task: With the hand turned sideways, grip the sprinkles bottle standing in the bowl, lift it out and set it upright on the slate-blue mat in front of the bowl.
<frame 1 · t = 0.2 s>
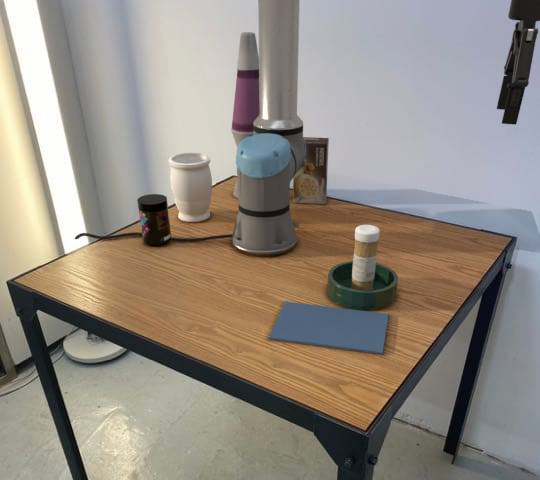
hand: (505, 116, 118), 28 cm above the table, tool pointing down, fingers open, 13 cm apart
coffee box: (309, 200, 158), on the table
mat: (330, 327, 104), on the table
jar: (194, 217, 148), on the table
supplement container: (157, 242, 135), on the table
bowl: (361, 293, 114), on the table
lamp: (251, 194, 162), on the table
sprinkles bottle: (361, 292, 114), resting on bowl
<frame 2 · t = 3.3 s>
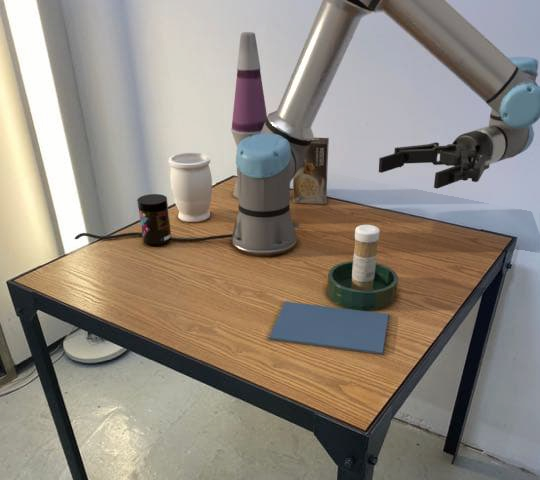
hand: (406, 172, 106), 22 cm above the table, tool horizontal, fingers open, 13 cm apart
nothing on the table moved.
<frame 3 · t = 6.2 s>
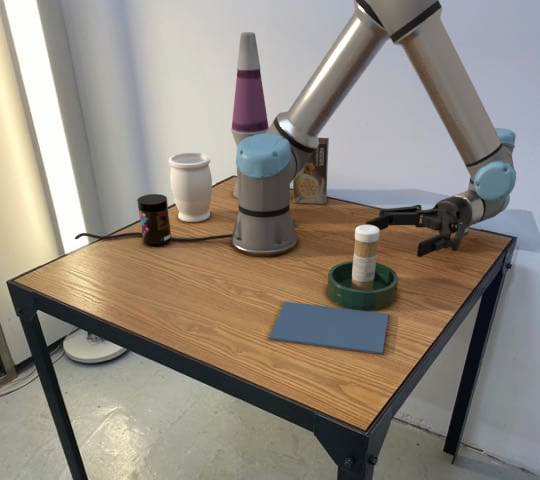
hand: (391, 239, 112), 10 cm above the table, tool horizontal, fingers open, 13 cm apart
nothing on the table moved.
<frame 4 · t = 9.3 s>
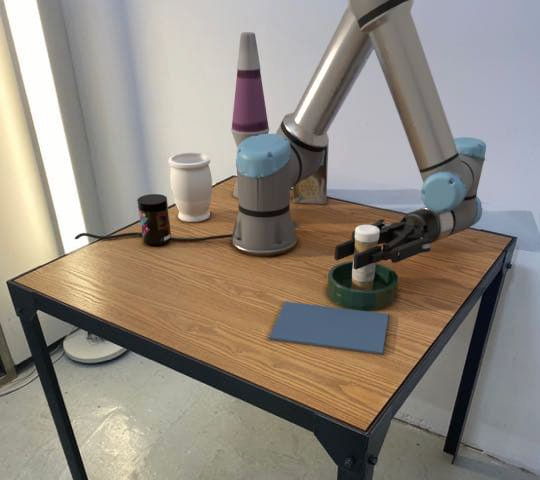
hand: (345, 257, 106), 10 cm above the table, tool horizontal, fingers closed on sprinkles bottle, 4 cm apart
sprinkles bottle: (361, 292, 114), resting on bowl, touching gripper
everything else where it was.
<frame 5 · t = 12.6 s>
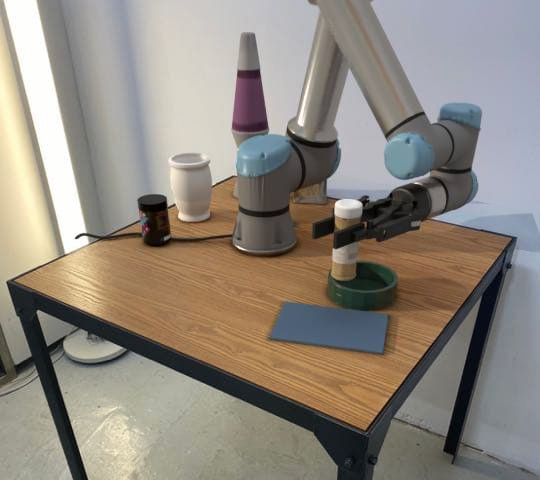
hand: (324, 236, 93), 18 cm above the table, tool horizontal, fingers closed on sprinkles bottle, 4 cm apart
sprinkles bottle: (343, 277, 101), point 9 cm above the table, touching gripper
everything else where it was.
when the fingers open (9 cm above the table, at t = 15.8 s): sprinkles bottle stays where it is, resting on mat.
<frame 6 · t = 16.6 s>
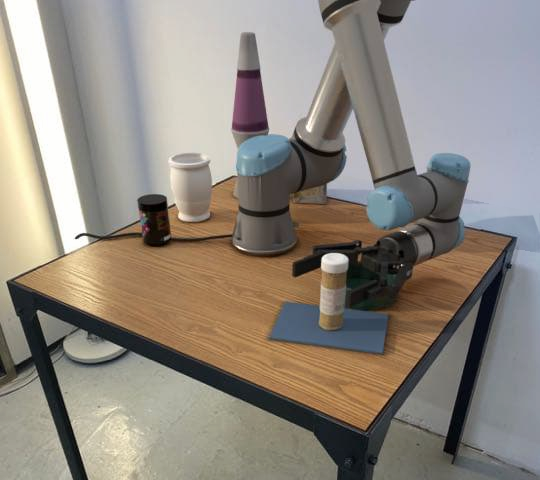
hand: (319, 284, 96), 10 cm above the table, tool horizontal, fingers open, 13 cm apart
sprinkles bottle: (330, 326, 104), resting on mat
everything else where it was.
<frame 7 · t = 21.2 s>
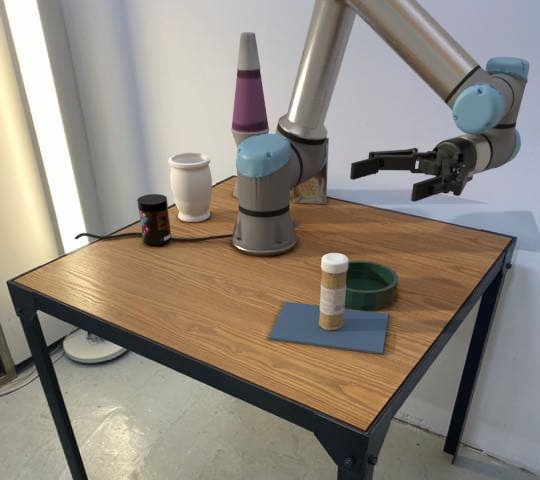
hand: (381, 181, 94), 25 cm above the table, tool horizontal, fingers open, 13 cm apart
nothing on the table moved.
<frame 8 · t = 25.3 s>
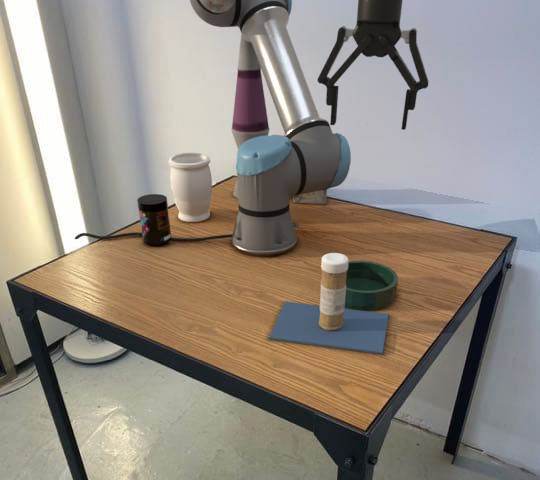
hand: (368, 125, 110), 29 cm above the table, tool pointing down, fingers open, 13 cm apart
lamp: (251, 194, 162), on the table, touching arm
everything else where it was.
at the end: sprinkles bottle inside the target area on the mat (0.0 cm from its centre), point 0.3 cm above the mat's base; sprinkles bottle tilted 0°; the gripper is holding nothing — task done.
